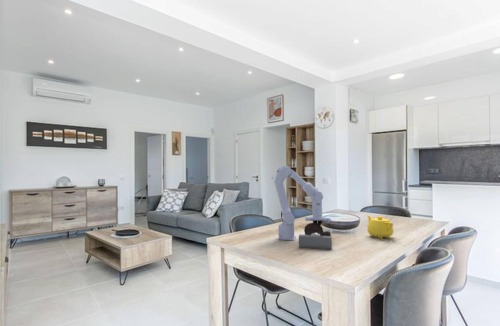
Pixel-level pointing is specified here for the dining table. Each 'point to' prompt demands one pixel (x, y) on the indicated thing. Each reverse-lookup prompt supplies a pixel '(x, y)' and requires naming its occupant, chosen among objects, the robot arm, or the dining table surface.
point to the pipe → (315, 229)
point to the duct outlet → (315, 241)
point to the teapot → (380, 227)
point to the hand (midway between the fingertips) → (317, 232)
